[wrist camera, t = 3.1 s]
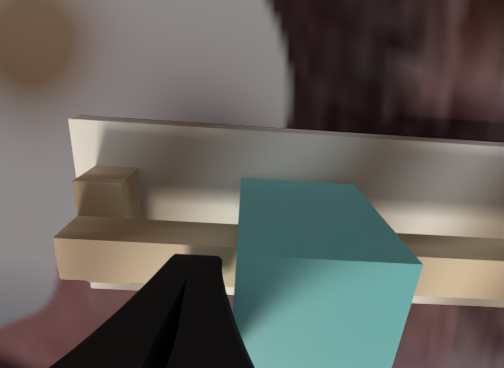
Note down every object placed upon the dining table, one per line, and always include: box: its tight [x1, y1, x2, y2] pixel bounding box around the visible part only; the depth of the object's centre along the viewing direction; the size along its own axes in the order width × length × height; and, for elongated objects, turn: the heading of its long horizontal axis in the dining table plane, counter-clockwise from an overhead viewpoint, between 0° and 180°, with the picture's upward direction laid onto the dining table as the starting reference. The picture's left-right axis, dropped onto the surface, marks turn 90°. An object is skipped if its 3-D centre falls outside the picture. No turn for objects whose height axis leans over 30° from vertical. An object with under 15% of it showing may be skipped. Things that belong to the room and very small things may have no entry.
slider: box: [233, 178, 423, 368], centre depth 10 cm, size 4×4×5 cm
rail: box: [53, 115, 504, 307], centre depth 10 cm, size 21×7×6 cm, turn 86°
